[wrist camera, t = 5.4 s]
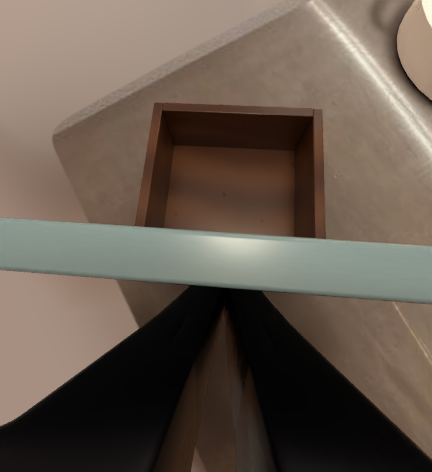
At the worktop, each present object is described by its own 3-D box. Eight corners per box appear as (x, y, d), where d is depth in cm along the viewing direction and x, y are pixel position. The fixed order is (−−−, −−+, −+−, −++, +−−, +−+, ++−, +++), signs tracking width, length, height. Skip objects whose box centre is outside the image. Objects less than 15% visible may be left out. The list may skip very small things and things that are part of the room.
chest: (169, 142, 25) (154, 102, 20) (300, 148, 25) (322, 108, 19) (154, 252, 23) (131, 242, 17) (300, 263, 22) (326, 255, 16)
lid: (-234, 200, 4) (-239, 252, 3) (818, 271, 3) (818, 336, 3) (129, 235, 17) (128, 246, 17) (329, 249, 16) (329, 260, 16)
